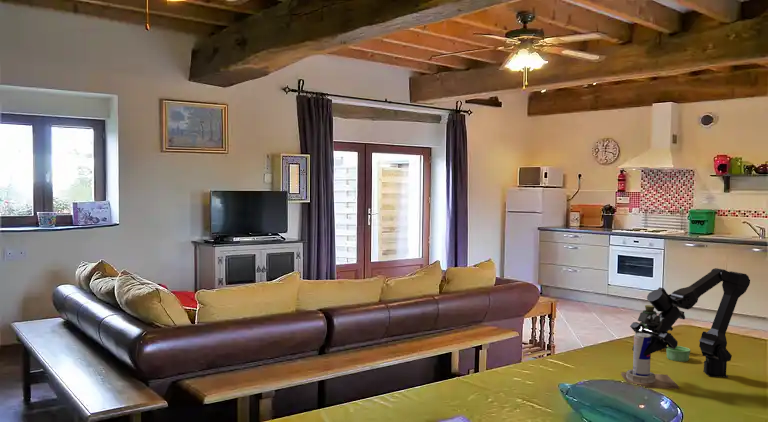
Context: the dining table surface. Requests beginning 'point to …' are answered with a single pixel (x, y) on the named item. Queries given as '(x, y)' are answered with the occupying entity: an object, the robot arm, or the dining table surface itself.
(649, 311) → the potion bottle
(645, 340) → the beverage can
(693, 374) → the dining table surface
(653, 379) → the board
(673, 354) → the ramekin
